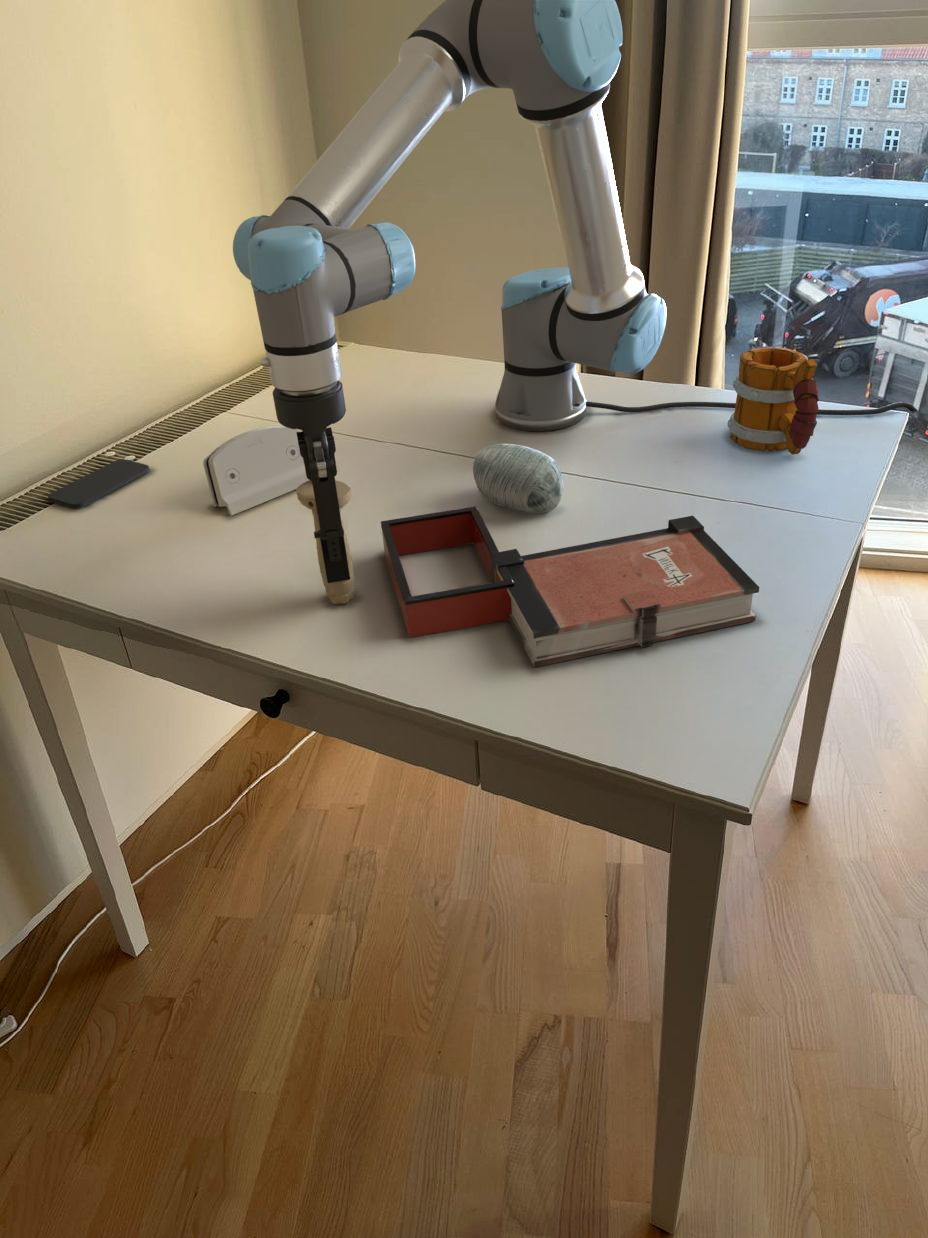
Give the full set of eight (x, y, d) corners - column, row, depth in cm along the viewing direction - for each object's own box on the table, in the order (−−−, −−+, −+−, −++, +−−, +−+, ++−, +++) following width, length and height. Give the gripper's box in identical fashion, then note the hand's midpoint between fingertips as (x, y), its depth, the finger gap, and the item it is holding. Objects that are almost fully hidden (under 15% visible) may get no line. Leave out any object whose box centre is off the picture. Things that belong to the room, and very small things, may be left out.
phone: (152, 465, 152) (76, 505, 141) (153, 470, 152) (78, 510, 142) (120, 457, 155) (44, 496, 145) (121, 462, 156) (45, 500, 145)
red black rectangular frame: (478, 539, 128) (476, 505, 125) (516, 619, 112) (515, 583, 109) (384, 554, 126) (379, 521, 123) (408, 638, 110) (404, 602, 107)
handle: (333, 582, 121) (315, 475, 112) (373, 595, 118) (358, 485, 109) (308, 601, 118) (288, 492, 109) (349, 615, 115) (331, 503, 106)
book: (536, 671, 103) (535, 633, 100) (492, 588, 117) (490, 553, 114) (758, 624, 108) (763, 586, 105) (690, 550, 122) (692, 515, 119)
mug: (773, 418, 154) (784, 325, 145) (837, 457, 141) (854, 358, 132) (713, 430, 151) (722, 337, 143) (773, 472, 138) (786, 371, 130)
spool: (587, 480, 132) (552, 429, 126) (551, 533, 130) (514, 483, 124) (520, 474, 143) (485, 427, 137) (486, 523, 140) (448, 476, 134)
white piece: (229, 516, 137) (203, 449, 134) (216, 516, 141) (190, 451, 138) (324, 477, 146) (302, 413, 143) (309, 478, 150) (287, 416, 147)
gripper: (267, 362, 109) (300, 541, 122) (275, 417, 95) (311, 613, 108) (333, 353, 110) (358, 532, 123) (350, 407, 96) (377, 601, 109)
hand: (336, 569), depth 115 cm, fingers closed on handle, 4 cm apart
